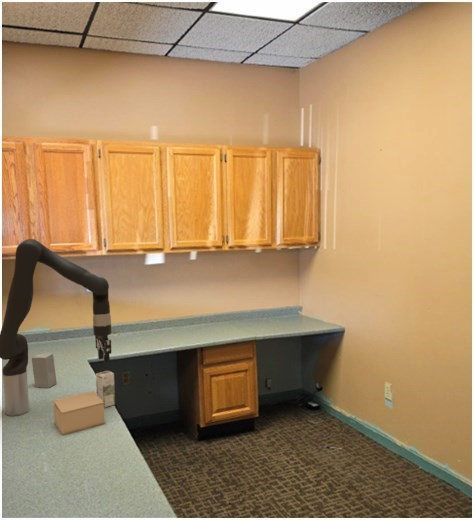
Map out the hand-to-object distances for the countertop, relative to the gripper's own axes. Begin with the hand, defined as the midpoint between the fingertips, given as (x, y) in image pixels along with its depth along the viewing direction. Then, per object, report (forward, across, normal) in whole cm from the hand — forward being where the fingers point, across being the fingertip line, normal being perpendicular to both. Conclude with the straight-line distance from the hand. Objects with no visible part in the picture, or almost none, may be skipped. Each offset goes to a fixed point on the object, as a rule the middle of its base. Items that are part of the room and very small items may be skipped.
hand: (104, 360), depth 200 cm
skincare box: (+20, -44, -16) cm, 51 cm away
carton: (+20, +12, -15) cm, 28 cm away
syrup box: (+20, 0, 0) cm, 20 cm away
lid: (+11, +12, -15) cm, 22 cm away
